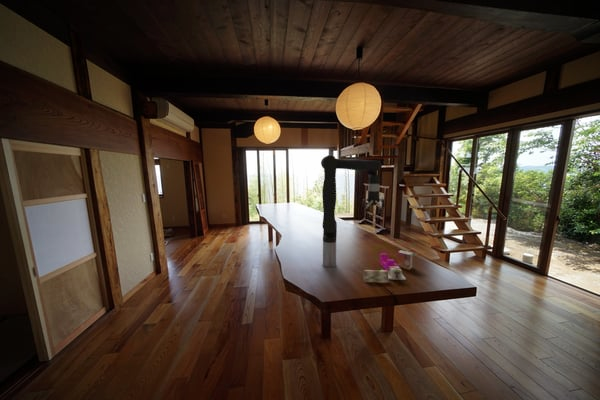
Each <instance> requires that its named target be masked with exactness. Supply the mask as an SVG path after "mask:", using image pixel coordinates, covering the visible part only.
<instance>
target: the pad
mask: <svg viewBox="0 0 600 400" xmlns="http://www.w3.org/2000/svg"><path fill="white" fill-rule="evenodd" d="M379 271H387V270H386V269H380V270H379ZM388 280H395V281H396V280H397V281H399V280H400V281H406V280H407V278H406V277H405V276H404V274H403V273H402V278H401V279H392V278H391V277H390V276H389V273H388Z"/></svg>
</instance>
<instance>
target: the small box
mask: <svg viewBox="0 0 600 400" xmlns="http://www.w3.org/2000/svg"><path fill="white" fill-rule="evenodd" d="M413 254H414V252H411V251H406V250H402V249H401V250H399V251H397V263H396V264H397V265H398V267H399V268H400V269H405V270H408V271H410V270H411V269H413V256H414V255H413Z"/></svg>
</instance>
